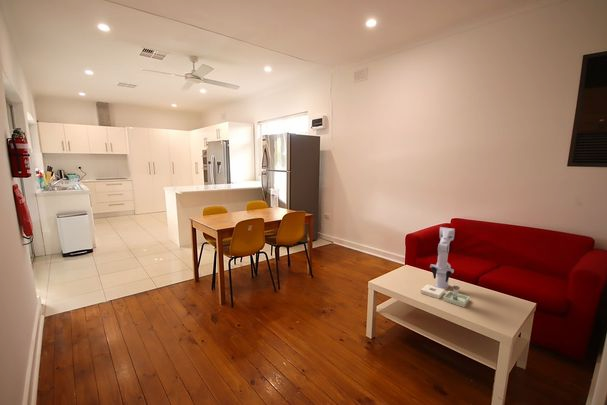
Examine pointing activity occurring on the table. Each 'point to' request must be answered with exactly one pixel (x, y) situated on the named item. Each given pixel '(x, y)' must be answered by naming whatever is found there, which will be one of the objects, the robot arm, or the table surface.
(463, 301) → the pin tray
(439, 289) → the lock block
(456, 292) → the lock pin
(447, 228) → the robot arm
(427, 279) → the table surface
